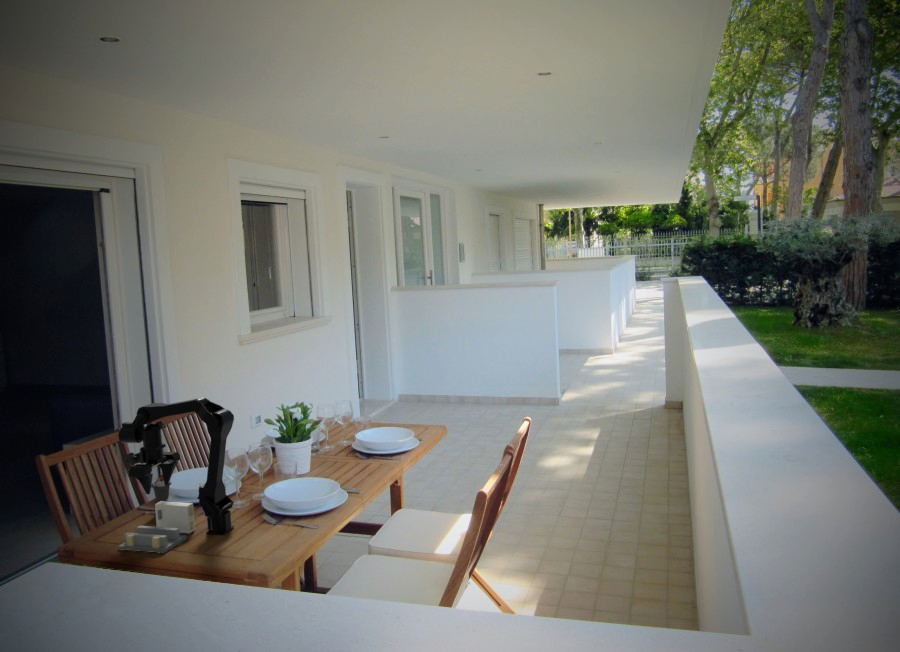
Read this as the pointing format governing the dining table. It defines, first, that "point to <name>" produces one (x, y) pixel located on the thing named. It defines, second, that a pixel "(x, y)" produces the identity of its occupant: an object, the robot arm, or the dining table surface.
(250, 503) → the dining table surface
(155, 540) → the clip plinth
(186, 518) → the white rectangular block
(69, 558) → the dining table surface
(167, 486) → the sundae
